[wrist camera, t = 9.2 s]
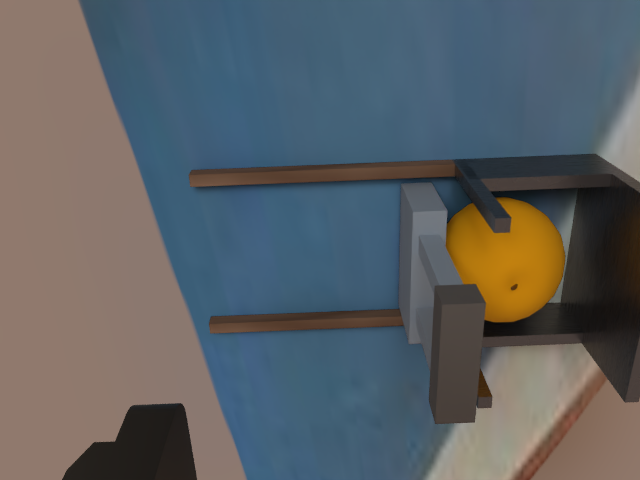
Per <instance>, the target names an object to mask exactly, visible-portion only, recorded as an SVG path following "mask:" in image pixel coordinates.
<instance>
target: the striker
mask: <svg viewBox="0 0 640 480" xmlns="http://www.w3.org/2000/svg"><path fill="white" fill-rule="evenodd" d="M446 227H447V209H446V207H445V205H444V204H443V202H442V200H441V198H440V197H439V195H438V193H437V191H436V190H435V188H434V186H433V184H432V183H431V182H428V183H403V184H401V207H400V254H399V300H398V304H399V308H400V312H401V316H402V320H403V323H404V327H405V331H406V335H407V339H408V342H409V344H422V346H423V350H424V353H425V357H426V360H427V363H428V367H429V370H430V388H429V403H430V406H431V410H432V414H433V417H434V421H435V424H447V423H472V422H475V415H476V404H477V394H478V383H479V372H480V361H481V351H482V340H483V329H484V319H485V308H486V302H485V300H484V298H483V296H482V295H481V293H480V291H479V289H478V287H477V285H476V284H463V282H462V280H461V278H460V276H459V274H458V272H457V270H456V268H455V266H454V264H453V261H452V259H451V257H450V255H449V253H448V251H447V249H446V247H445V245H446Z"/></svg>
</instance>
